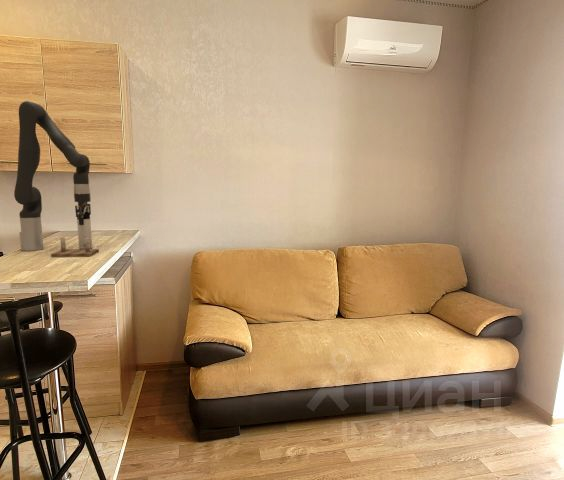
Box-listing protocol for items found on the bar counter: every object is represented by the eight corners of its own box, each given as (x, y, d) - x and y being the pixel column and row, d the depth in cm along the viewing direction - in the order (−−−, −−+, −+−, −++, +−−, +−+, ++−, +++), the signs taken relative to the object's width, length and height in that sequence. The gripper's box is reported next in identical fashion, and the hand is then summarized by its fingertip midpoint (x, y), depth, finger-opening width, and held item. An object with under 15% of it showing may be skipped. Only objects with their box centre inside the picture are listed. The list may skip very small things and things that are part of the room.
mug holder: (51, 257, 181) (49, 239, 180) (62, 252, 193) (61, 235, 192) (90, 256, 183) (88, 239, 182) (99, 251, 195) (97, 235, 194)
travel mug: (87, 250, 197) (84, 213, 194) (76, 250, 199) (73, 212, 195) (95, 248, 203) (93, 212, 200) (84, 248, 205) (82, 211, 201)
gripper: (80, 192, 203) (82, 222, 205) (68, 193, 189) (71, 225, 191) (94, 192, 203) (96, 222, 206) (84, 193, 189) (86, 225, 192)
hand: (84, 224), depth 199 cm, fingers open, 7 cm apart
